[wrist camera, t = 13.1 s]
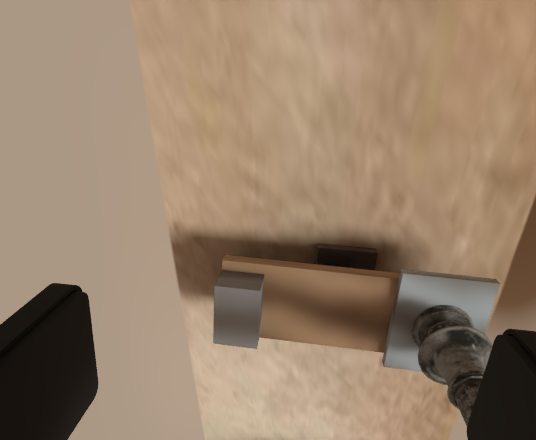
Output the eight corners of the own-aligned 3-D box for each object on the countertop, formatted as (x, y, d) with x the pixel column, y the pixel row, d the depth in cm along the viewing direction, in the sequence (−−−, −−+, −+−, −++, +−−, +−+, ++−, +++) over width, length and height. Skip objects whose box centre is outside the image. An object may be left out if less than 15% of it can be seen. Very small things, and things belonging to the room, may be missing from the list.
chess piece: (426, 366, 36) (477, 495, 25) (396, 320, 35) (435, 434, 24) (488, 340, 34) (572, 466, 23) (458, 290, 33) (532, 398, 22)
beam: (225, 245, 36) (214, 265, 32) (489, 272, 34) (512, 297, 30) (223, 333, 40) (213, 361, 36) (463, 363, 38) (480, 395, 34)
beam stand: (242, 236, 41) (235, 255, 37) (453, 255, 40) (472, 277, 35) (240, 301, 44) (232, 326, 39) (437, 321, 43) (452, 349, 38)
